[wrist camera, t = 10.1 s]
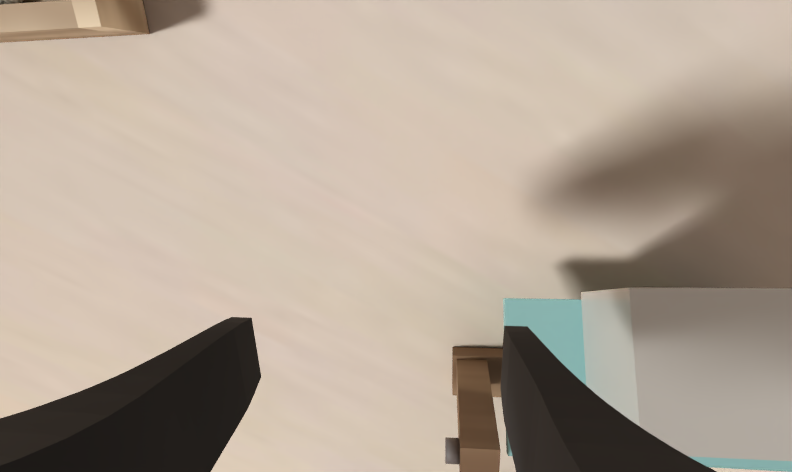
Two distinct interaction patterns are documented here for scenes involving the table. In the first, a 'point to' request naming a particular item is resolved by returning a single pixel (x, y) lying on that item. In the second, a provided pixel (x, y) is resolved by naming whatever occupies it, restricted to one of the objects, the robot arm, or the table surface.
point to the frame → (476, 409)
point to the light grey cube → (696, 366)
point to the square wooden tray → (71, 19)
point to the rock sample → (10, 1)
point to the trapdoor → (565, 340)
